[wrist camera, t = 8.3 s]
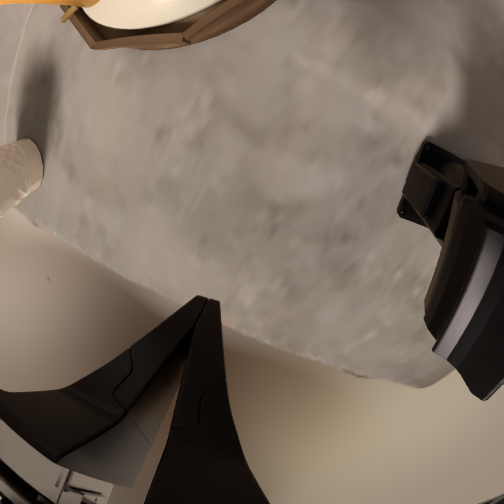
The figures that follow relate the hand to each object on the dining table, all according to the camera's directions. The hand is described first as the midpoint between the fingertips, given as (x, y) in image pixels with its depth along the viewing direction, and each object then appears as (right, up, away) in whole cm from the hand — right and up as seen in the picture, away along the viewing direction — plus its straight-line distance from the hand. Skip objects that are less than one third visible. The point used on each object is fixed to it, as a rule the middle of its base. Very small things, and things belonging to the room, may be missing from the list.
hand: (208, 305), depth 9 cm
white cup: (-25, +13, +13) cm, 31 cm away
